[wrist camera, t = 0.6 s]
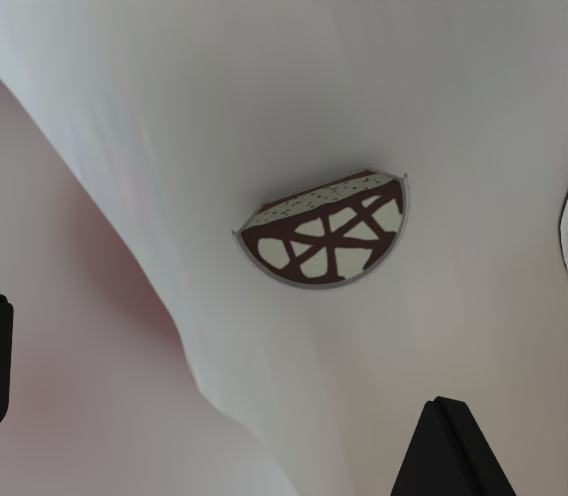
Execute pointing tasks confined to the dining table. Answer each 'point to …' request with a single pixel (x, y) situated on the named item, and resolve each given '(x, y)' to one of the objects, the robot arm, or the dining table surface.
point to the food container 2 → (565, 234)
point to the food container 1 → (328, 231)
